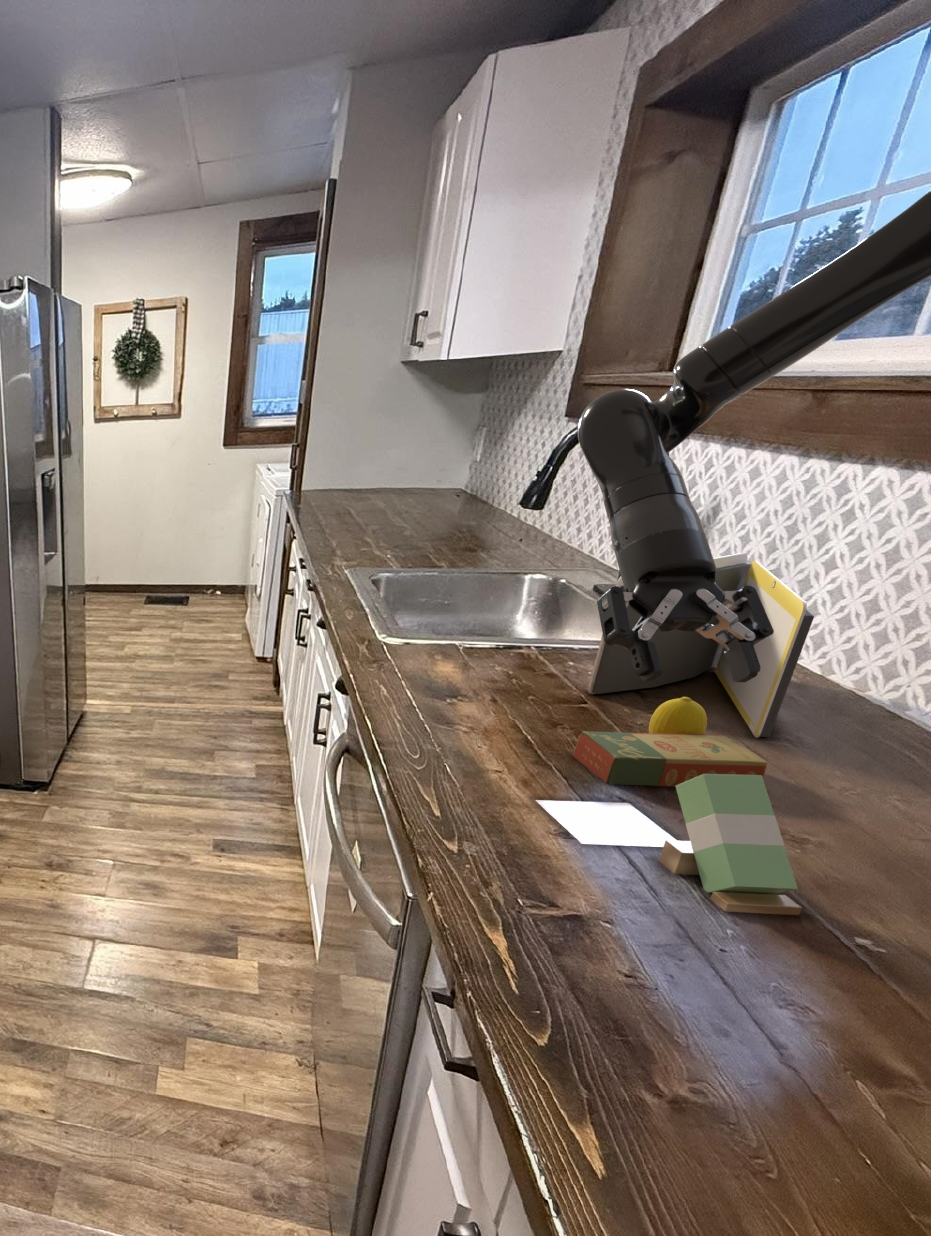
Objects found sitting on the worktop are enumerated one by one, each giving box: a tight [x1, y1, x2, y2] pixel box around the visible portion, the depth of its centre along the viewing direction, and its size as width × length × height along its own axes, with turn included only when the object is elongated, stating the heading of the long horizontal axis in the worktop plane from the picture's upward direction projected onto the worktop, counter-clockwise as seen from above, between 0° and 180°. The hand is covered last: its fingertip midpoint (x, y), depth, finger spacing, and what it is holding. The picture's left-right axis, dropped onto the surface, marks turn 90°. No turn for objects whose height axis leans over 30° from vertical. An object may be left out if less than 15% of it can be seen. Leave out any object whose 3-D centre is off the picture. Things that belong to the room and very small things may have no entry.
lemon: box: [648, 696, 708, 734], centre depth 101 cm, size 6×6×8 cm
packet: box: [675, 774, 799, 895], centre depth 75 cm, size 10×5×11 cm, turn 171°
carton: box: [572, 730, 768, 788], centre depth 96 cm, size 8×16×4 cm, turn 78°
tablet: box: [587, 552, 815, 739], centre depth 118 cm, size 35×22×20 cm, turn 148°
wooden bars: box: [658, 839, 803, 916], centre depth 75 cm, size 9×7×3 cm
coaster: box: [534, 799, 677, 849], centre depth 87 cm, size 10×10×1 cm
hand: (699, 678), depth 79 cm, fingers open, 8 cm apart
